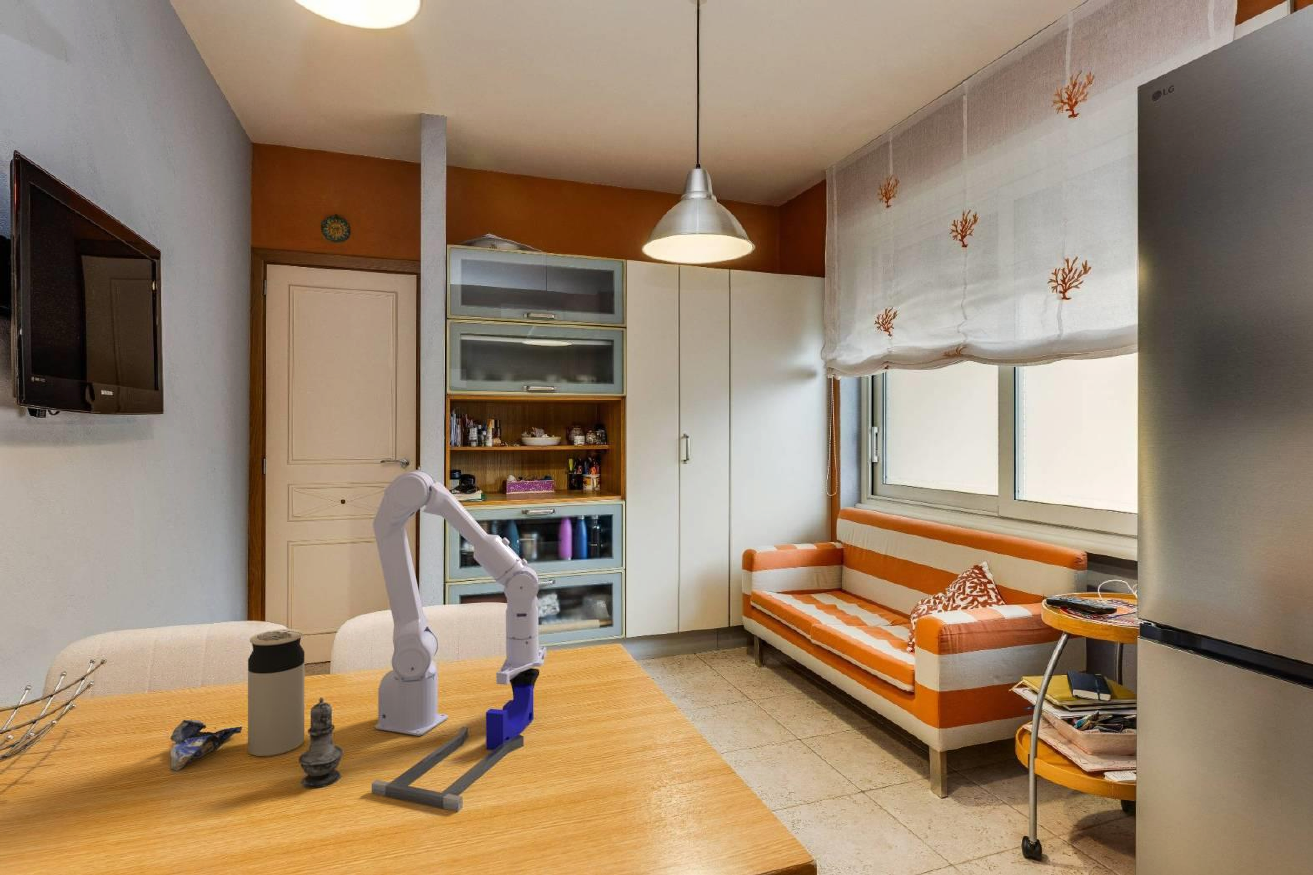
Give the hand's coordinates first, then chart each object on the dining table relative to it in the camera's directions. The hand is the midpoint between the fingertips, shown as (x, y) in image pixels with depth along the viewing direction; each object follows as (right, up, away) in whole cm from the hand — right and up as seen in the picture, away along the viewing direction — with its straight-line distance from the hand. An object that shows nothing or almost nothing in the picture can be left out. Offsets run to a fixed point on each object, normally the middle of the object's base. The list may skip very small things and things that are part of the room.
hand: (523, 710), depth 120 cm
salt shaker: (-25, -1, -22) cm, 33 cm away
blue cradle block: (-1, -1, -7) cm, 7 cm away
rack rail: (-6, -1, -18) cm, 20 cm away
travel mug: (-38, -1, -11) cm, 39 cm away
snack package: (-49, -2, -13) cm, 51 cm away
